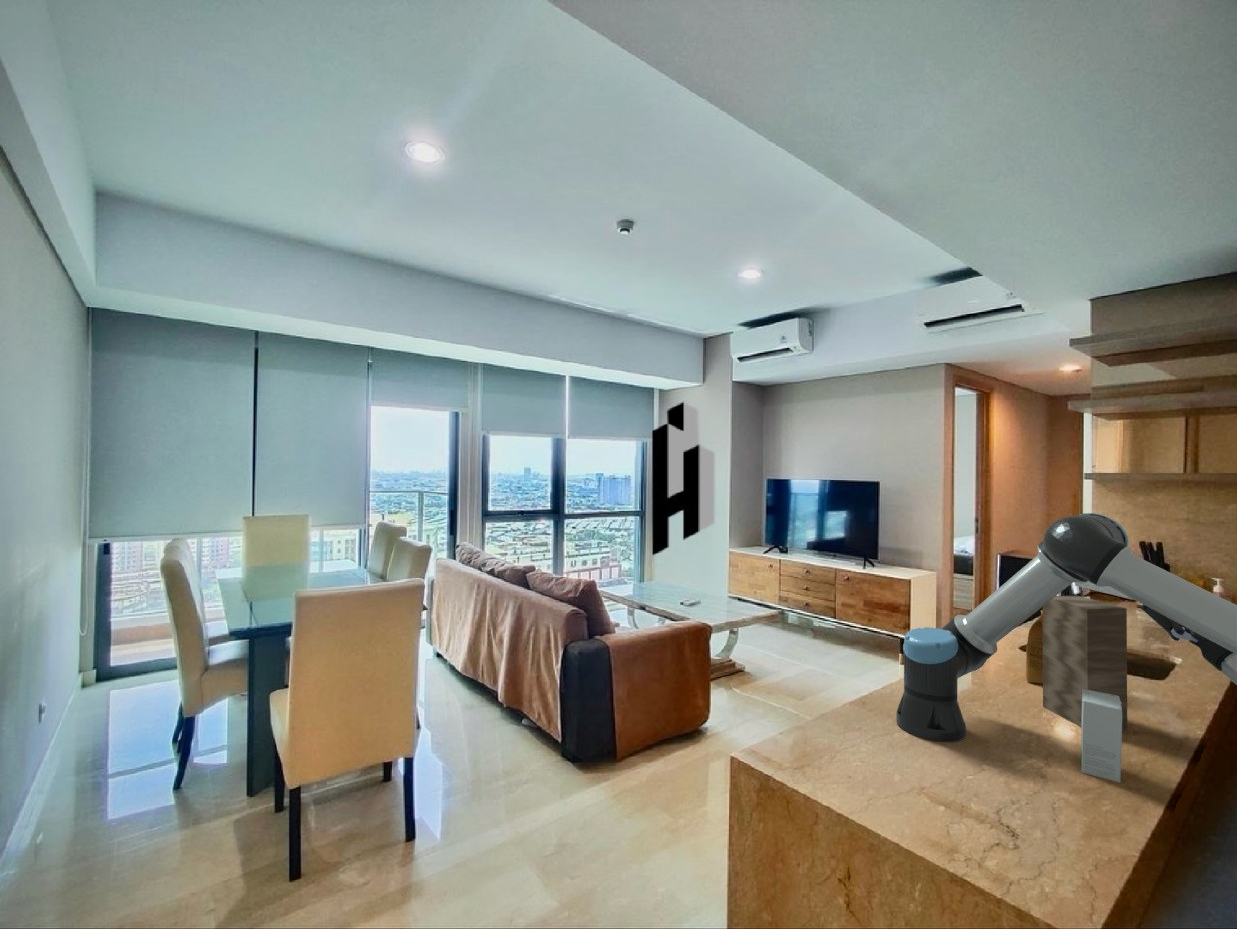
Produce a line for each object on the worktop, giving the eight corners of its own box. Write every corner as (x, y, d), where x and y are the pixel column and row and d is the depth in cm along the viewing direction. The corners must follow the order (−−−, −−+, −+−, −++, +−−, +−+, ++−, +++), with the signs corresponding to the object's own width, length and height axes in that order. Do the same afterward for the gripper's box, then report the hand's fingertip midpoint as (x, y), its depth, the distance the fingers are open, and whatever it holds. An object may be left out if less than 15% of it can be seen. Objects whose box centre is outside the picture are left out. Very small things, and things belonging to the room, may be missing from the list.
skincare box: (1081, 757, 124) (1080, 687, 125) (1120, 768, 120) (1120, 695, 120) (1081, 773, 118) (1081, 699, 118) (1123, 784, 114) (1123, 708, 114)
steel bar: (1182, 607, 122) (1182, 593, 122) (1164, 607, 122) (1164, 593, 122) (1089, 585, 145) (1089, 574, 145) (1075, 585, 145) (1074, 574, 145)
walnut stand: (1127, 730, 138) (1126, 608, 138) (1087, 730, 137) (1087, 608, 138) (1078, 706, 152) (1078, 595, 152) (1042, 706, 151) (1042, 595, 152)
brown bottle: (1072, 681, 170) (1072, 609, 170) (1061, 691, 162) (1061, 615, 162) (1032, 672, 177) (1032, 603, 178) (1020, 681, 170) (1020, 609, 170)
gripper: (1187, 674, 111) (1096, 593, 131) (1270, 673, 112) (1166, 593, 132) (1207, 647, 107) (1111, 568, 128) (1292, 647, 108) (1182, 568, 128)
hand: (1139, 581), depth 130 cm, fingers closed on steel bar, 4 cm apart
